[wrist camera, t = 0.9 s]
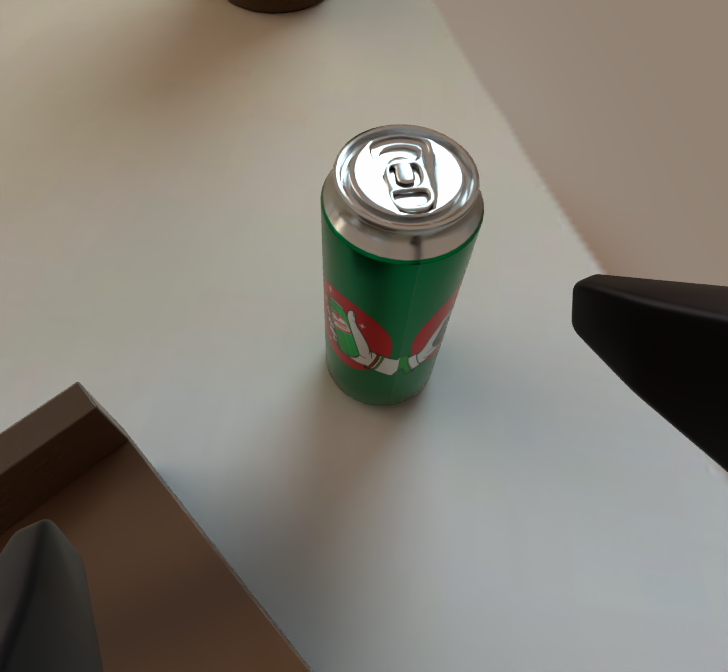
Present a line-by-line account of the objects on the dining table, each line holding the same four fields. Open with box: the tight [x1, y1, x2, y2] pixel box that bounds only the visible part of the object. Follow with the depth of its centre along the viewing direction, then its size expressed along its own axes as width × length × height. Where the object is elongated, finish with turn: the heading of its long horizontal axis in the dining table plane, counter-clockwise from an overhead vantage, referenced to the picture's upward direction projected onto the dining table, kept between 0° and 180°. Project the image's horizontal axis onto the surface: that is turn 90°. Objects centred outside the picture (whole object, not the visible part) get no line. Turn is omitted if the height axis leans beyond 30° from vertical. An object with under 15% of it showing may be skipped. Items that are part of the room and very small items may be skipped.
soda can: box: [321, 125, 484, 406], centre depth 21 cm, size 5×5×12 cm
